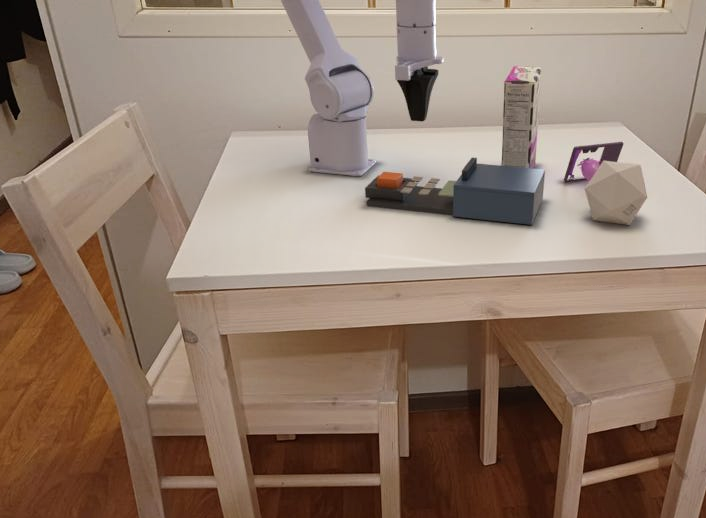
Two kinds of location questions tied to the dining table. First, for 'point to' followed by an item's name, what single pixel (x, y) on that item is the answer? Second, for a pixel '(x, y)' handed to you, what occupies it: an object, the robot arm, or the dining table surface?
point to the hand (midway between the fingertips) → (418, 120)
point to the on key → (390, 180)
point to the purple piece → (591, 165)
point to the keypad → (430, 187)
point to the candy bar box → (521, 116)
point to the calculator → (408, 199)
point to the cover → (498, 193)
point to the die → (616, 192)
